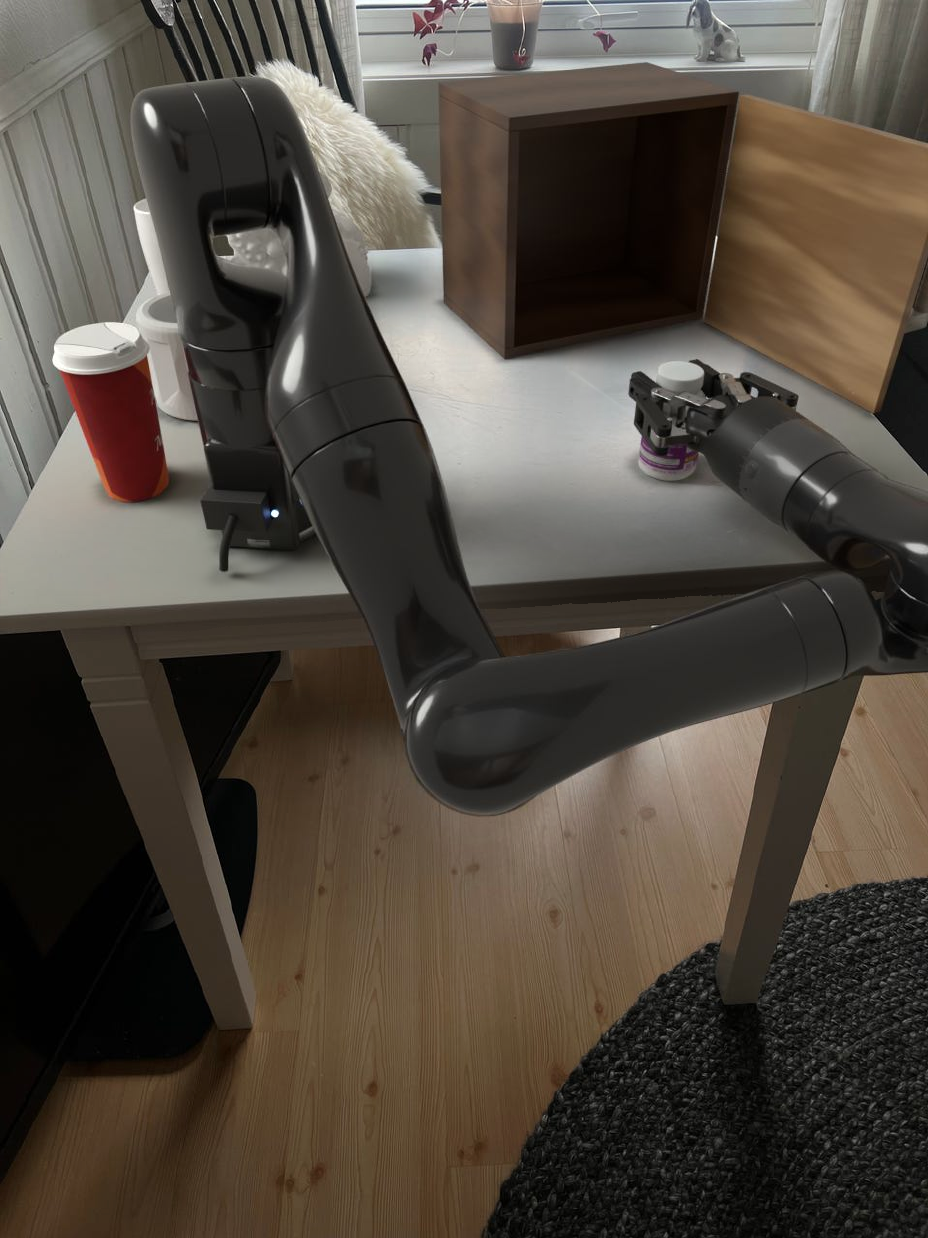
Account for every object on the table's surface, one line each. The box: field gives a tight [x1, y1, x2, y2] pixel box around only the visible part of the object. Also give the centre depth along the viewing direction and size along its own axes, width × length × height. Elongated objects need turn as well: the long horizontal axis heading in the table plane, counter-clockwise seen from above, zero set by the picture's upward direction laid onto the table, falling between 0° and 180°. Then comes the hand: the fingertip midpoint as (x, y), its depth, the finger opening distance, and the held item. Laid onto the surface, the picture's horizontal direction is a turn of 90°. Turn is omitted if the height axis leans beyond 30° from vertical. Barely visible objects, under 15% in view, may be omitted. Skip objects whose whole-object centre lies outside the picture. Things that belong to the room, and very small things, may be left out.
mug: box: [135, 292, 198, 422], centre depth 96 cm, size 14×11×10 cm
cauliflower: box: [224, 170, 372, 298], centre depth 118 cm, size 19×20×20 cm
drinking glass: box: [133, 198, 170, 296], centre depth 105 cm, size 7×7×15 cm
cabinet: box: [437, 61, 740, 360], centre depth 107 cm, size 18×26×24 cm
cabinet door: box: [703, 93, 928, 415], centre depth 96 cm, size 7×26×24 cm, turn 28°
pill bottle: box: [637, 360, 708, 482], centre depth 84 cm, size 5×5×10 cm
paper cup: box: [52, 321, 170, 503], centre depth 81 cm, size 8×8×14 cm
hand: (663, 375), depth 83 cm, fingers closed on pill bottle, 5 cm apart
